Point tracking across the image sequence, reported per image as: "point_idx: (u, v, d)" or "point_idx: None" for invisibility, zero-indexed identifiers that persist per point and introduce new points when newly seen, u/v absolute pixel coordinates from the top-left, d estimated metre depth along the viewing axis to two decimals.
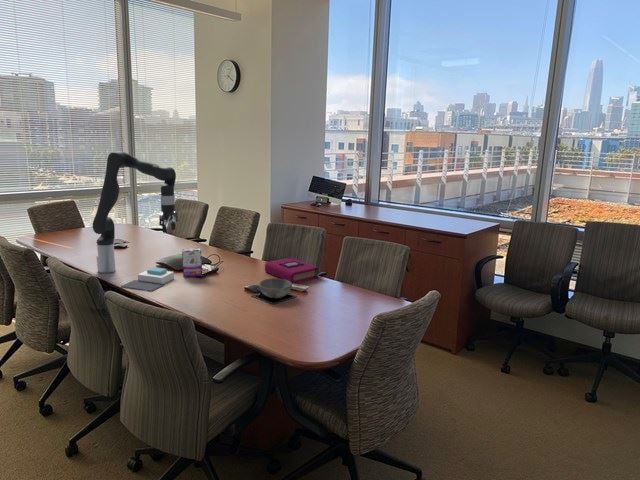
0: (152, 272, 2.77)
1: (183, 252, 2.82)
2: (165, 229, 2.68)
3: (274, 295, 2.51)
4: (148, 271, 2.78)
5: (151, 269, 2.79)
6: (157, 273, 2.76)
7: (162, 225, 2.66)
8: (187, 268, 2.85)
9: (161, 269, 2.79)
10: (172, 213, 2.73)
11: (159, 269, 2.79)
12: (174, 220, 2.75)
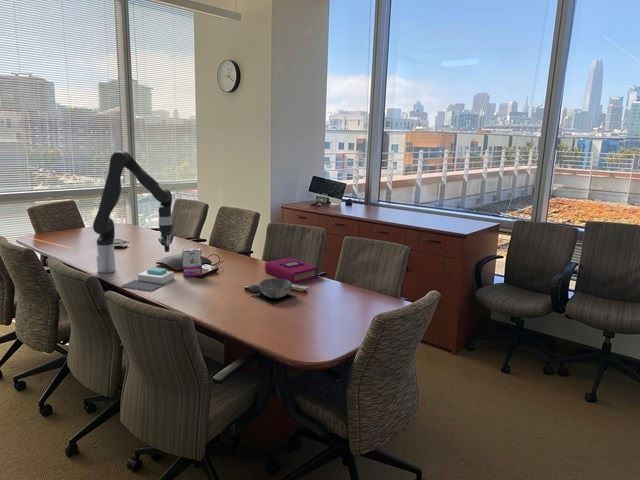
0: (152, 272, 2.77)
1: (183, 252, 2.82)
2: (167, 248, 2.86)
3: (274, 295, 2.51)
4: (148, 271, 2.78)
5: (151, 269, 2.79)
6: (157, 273, 2.76)
7: (164, 245, 2.83)
8: (187, 268, 2.85)
9: (161, 269, 2.79)
10: (170, 233, 2.86)
11: (159, 269, 2.79)
12: (169, 241, 2.86)
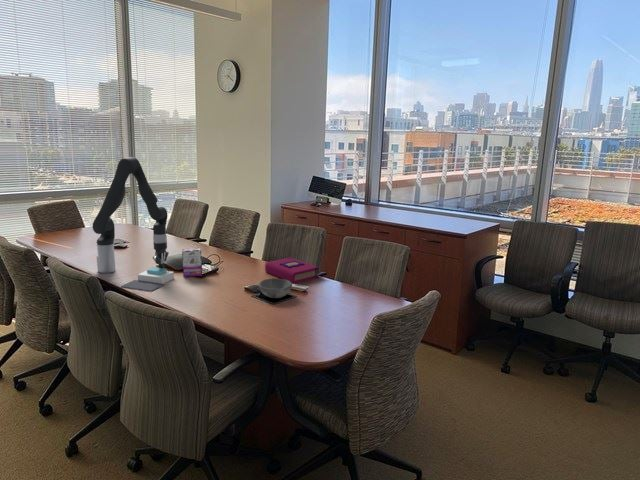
0: (152, 272, 2.77)
1: (183, 252, 2.82)
2: (161, 266, 2.82)
3: (274, 295, 2.51)
4: (148, 271, 2.78)
5: (151, 269, 2.79)
6: (157, 273, 2.76)
7: (158, 263, 2.79)
8: (187, 268, 2.85)
9: (161, 269, 2.79)
10: (164, 250, 2.83)
11: (159, 269, 2.79)
12: (164, 258, 2.82)
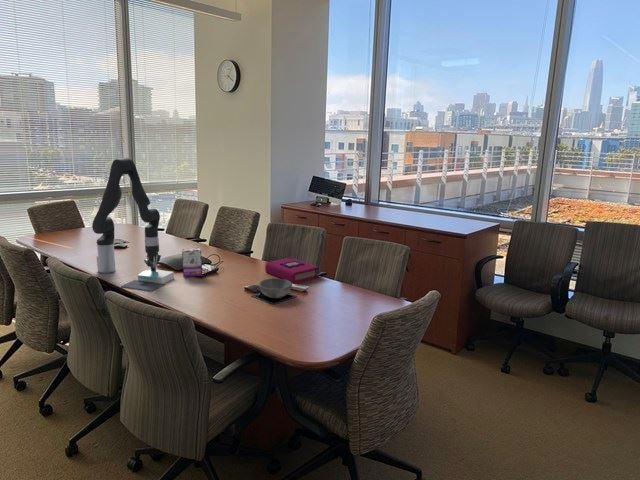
0: (144, 277, 2.70)
1: (183, 252, 2.82)
2: (153, 270, 2.75)
3: (274, 295, 2.51)
4: (139, 276, 2.70)
5: (142, 273, 2.71)
6: (149, 278, 2.69)
7: (150, 266, 2.72)
8: (187, 268, 2.85)
9: (153, 273, 2.72)
10: (156, 253, 2.75)
11: (150, 273, 2.72)
12: (156, 262, 2.75)
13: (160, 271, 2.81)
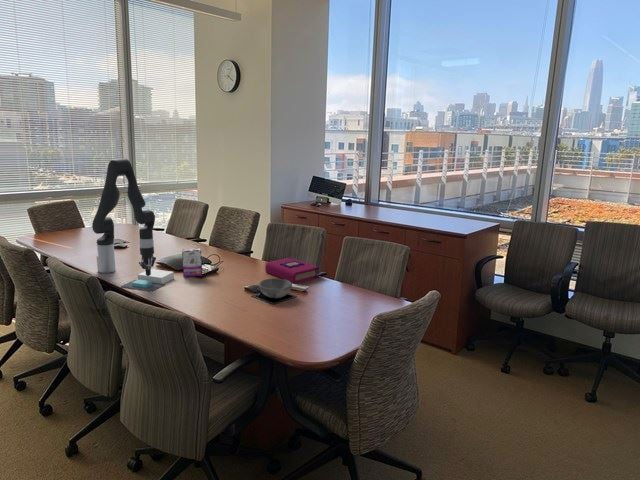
0: None
1: (183, 252, 2.82)
2: (148, 272, 2.71)
3: (274, 295, 2.51)
4: None
5: None
6: None
7: (145, 268, 2.68)
8: (187, 268, 2.85)
9: None
10: (151, 255, 2.71)
11: None
12: (151, 264, 2.71)
13: (160, 271, 2.81)
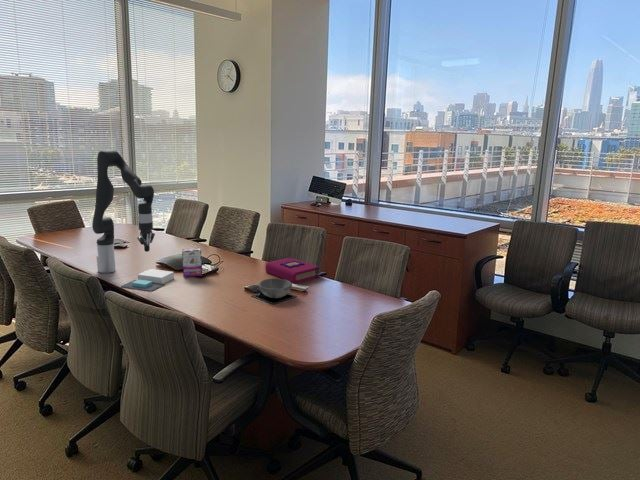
0: None
1: (183, 252, 2.82)
2: (147, 248, 2.68)
3: (274, 295, 2.51)
4: None
5: None
6: None
7: (144, 244, 2.65)
8: (187, 268, 2.85)
9: None
10: (150, 231, 2.68)
11: None
12: (149, 240, 2.68)
13: (160, 271, 2.81)
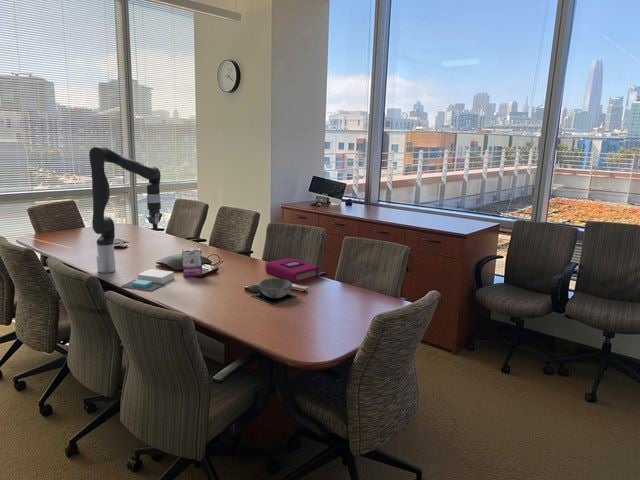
0: None
1: (183, 252, 2.82)
2: (155, 227, 2.84)
3: (274, 295, 2.51)
4: None
5: None
6: None
7: (152, 223, 2.81)
8: (187, 268, 2.85)
9: None
10: (158, 211, 2.85)
11: None
12: (157, 219, 2.84)
13: (160, 271, 2.81)
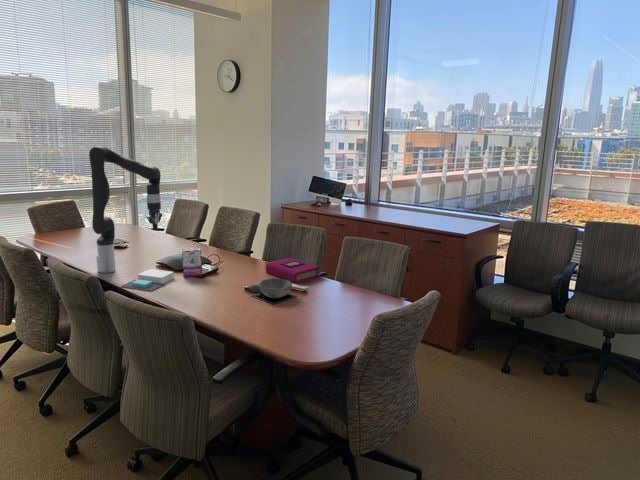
0: None
1: (183, 252, 2.82)
2: (155, 227, 2.84)
3: (274, 295, 2.51)
4: None
5: None
6: None
7: (152, 223, 2.81)
8: (187, 268, 2.85)
9: None
10: (158, 211, 2.85)
11: None
12: (157, 219, 2.84)
13: (160, 271, 2.81)
